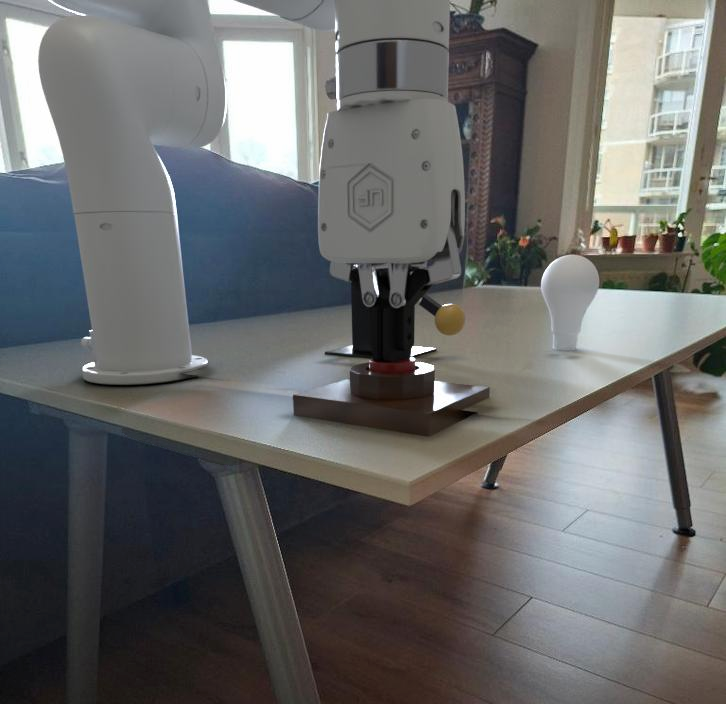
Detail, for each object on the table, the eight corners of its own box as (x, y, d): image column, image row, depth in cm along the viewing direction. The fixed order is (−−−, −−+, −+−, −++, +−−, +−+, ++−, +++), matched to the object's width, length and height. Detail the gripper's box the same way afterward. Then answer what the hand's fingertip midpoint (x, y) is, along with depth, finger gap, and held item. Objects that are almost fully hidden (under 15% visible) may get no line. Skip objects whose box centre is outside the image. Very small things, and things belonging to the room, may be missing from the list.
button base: (293, 416, 52) (291, 371, 51) (365, 392, 60) (364, 353, 59) (428, 437, 46) (429, 387, 44) (489, 408, 53) (491, 364, 52)
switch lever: (461, 339, 71) (476, 313, 69) (447, 343, 69) (462, 316, 67) (372, 273, 75) (384, 247, 73) (356, 275, 72) (368, 248, 70)
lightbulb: (549, 350, 80) (557, 254, 76) (600, 355, 76) (610, 253, 72) (526, 357, 75) (533, 255, 72) (578, 363, 72) (588, 255, 68)
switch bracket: (436, 358, 76) (438, 249, 72) (400, 370, 70) (400, 251, 66) (364, 352, 81) (362, 250, 77) (324, 362, 75) (320, 251, 71)
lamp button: (360, 383, 51) (359, 360, 51) (385, 375, 54) (385, 354, 54) (400, 388, 49) (400, 364, 49) (424, 380, 52) (424, 357, 52)
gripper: (271, 92, 46) (286, 358, 52) (468, 58, 38) (457, 377, 44) (336, 108, 52) (342, 346, 58) (518, 81, 44) (502, 360, 50)
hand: (392, 359), depth 51 cm, fingers closed
